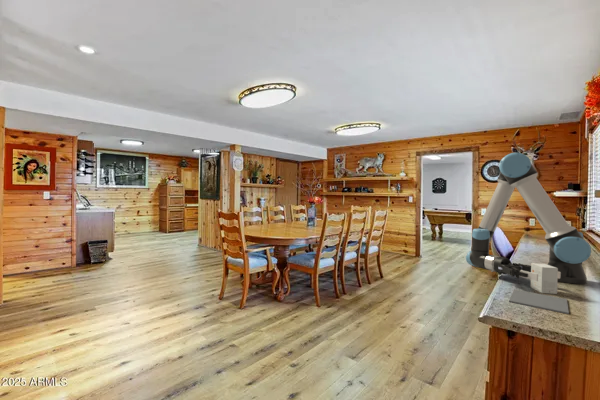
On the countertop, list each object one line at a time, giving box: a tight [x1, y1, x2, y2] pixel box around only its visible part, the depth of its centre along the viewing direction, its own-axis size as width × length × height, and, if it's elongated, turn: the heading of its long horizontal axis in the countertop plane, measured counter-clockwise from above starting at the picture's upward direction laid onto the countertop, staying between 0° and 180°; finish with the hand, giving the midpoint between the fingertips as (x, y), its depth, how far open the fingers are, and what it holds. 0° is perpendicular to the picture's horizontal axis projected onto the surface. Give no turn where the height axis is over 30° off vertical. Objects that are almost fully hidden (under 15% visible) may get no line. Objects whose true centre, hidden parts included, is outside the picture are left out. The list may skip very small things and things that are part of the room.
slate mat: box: [508, 288, 570, 315], centre depth 108 cm, size 18×16×1 cm
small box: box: [530, 262, 559, 295], centre depth 121 cm, size 8×6×10 cm
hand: (549, 276), depth 119 cm, fingers open, 13 cm apart
